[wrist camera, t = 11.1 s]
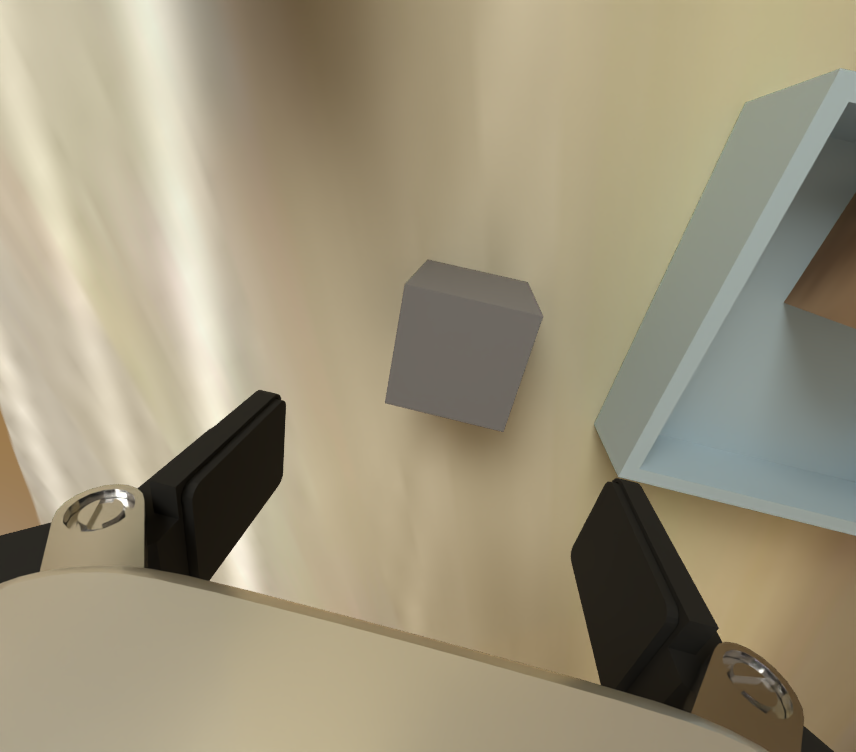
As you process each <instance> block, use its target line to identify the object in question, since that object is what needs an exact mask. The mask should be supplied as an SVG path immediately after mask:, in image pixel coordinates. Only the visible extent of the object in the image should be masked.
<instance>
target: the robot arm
mask: <svg viewBox="0 0 856 752" xmlns="http://www.w3.org/2000/svg"><path fill="white" fill-rule="evenodd" d="M285 414H286V403H285V401H282V400H281V397H280V395H279V394H275V393H271V392H267V391H263V390H258V391H256V392H255V393H254V394H253V395H252V396H250V397H249V398H248V399H247V400H246V401H244V402H243V403H242V404H241V405H239V406H238V407H237V408H236V409H235V410H233V411H232V412H231V413H230V414H229V415H227V416H226V417H225V418H224V419H223V420H221V421H220V422H219V423H218V424H217V425H215V426H214V427H213V428H211V429H209V430H208V431H207V432H205V433H204V434H203V435H202V436H201V437H199V438H198V439H197V440H196V441H195V442H193V443H192V444H191V445H190V446H188V447H187V448H186V449H185V450H184V451H182V452H181V453H180V454H179V455H178V456H176V457H175V458H174V459H173V460H172V461H170V462H169V463H168V464H167V465H165V466H164V467H163V468H162V469H161V470H159V471H158V472H157V473H156V474H155V475H153V476H152V477H151V478H150V479H149V480H147V481H146V482H145V483H144V484H142V485H141V486H140V487H139V488H138V489H137V488H135V487H132V486H129V485H121V484H113V485H104V486H100V487H96V488H92V489H89V490H87V491H84V492H82V493H80V494H77V495H76V496H74V497H73V498H71V499H69V500H68V501H66V502H65V503H64V504H63V505H62V506H61V507H60V508H59V509H58V510H57V511H56V513H55V515H54V517H53V519H52V522H51V523H47V524H44V525H40V526H36V527H32V528H28V529H24V530H20V531H17V532H13V533H9V534H5V535H1V536H0V752H834V751H833V750H831V749H830V748H829V747H828V746H827V745H825V744H824V743H823V742H822V741H821V740H820V739H818V738H817V737H816V736H815V735H814V734H813V733H811V732H810V731H809V730H808V729H807V728H806V727H804V726H803V724H804V716H803V708H802V706H801V704H800V702H799V700H798V697H797V695H796V694H795V692H794V691H793V689H792V688H791V687H790V685H789V684H788V682H787V681H786V680H785V679H784V678H783V677H782V675H781V674H780V673H779V672H778V671H777V670H776V669H775V668H774V667H773V666H772V665H770V664H769V663H768V662H767V661H766V660H765V659H763V658H762V657H761V656H759V655H758V654H756V653H755V652H753V651H751V650H750V649H748V648H746V647H743V646H741V645H739V644H736V643H731V642H724V643H722V641H721V639H720V637H719V635H718V633H717V630H718V629H719V628H718V626H717V624H716V622H715V620H714V619H713V617H712V615H711V613H710V611H709V609H708V608H707V606H706V604H705V602H704V600H703V598H702V597H701V595H700V593H699V591H698V589H697V587H696V586H695V584H694V582H693V580H692V578H691V577H690V575H689V573H688V571H687V569H686V567H685V566H684V564H683V562H682V560H681V558H680V556H679V555H678V553H677V551H676V549H675V547H674V546H673V544H672V542H671V540H670V538H669V536H668V535H667V533H666V531H665V529H664V527H663V525H662V524H661V522H660V520H659V518H658V516H657V514H656V513H655V511H654V509H653V507H652V505H651V504H650V502H649V500H648V498H647V496H646V494H645V493H644V491H643V489H642V487H641V486H640V484H638V483H635V482H631V481H627V480H623V479H619V478H616V479H614V480H613V481H612V482H607V483H606V484H605V486H604V487H603V489H602V491H601V493H600V495H599V497H598V499H597V501H596V503H595V505H594V507H593V509H592V511H591V513H590V514H589V516H588V518H587V520H586V522H585V524H584V526H583V528H582V530H581V532H580V534H579V536H578V538H577V540H576V541H575V543H574V545H573V548H572V551H571V562H572V566H573V570H574V574H575V579H576V583H577V587H578V591H579V595H580V599H581V604H582V608H583V612H584V616H585V620H586V624H587V629H588V633H589V637H590V641H591V645H592V649H593V654H594V658H595V662H596V666H597V670H598V674H599V679H600V683H601V685H598V684H595V683H591V682H588V681H584V680H581V679H577V678H573V677H570V676H566V675H563V674H559V673H555V672H552V671H548V670H544V669H541V668H537V667H533V666H530V665H526V664H522V663H519V662H515V661H511V660H508V659H504V658H501V657H497V656H493V655H490V654H486V653H482V652H479V651H475V650H471V649H467V648H464V647H460V646H456V645H453V644H449V643H445V642H441V641H438V640H434V639H430V638H427V637H423V636H419V635H415V634H412V633H408V632H404V631H400V630H397V629H393V628H389V627H385V626H382V625H378V624H374V623H371V622H367V621H363V620H359V619H356V618H352V617H348V616H344V615H340V614H336V613H333V612H329V611H325V610H321V609H317V608H314V607H310V606H306V605H302V604H298V603H294V602H291V601H287V600H283V599H279V598H275V597H272V596H268V595H264V594H260V593H256V592H252V591H248V590H244V589H240V588H236V587H232V586H228V585H224V584H220V583H215V582H211V581H209V580H210V579H211V578H212V576H213V575H214V574H215V572H216V571H217V569H218V568H219V567H220V565H221V564H222V563H223V561H224V560H225V558H226V557H227V556H228V554H229V553H230V552H231V550H232V549H233V547H234V546H235V545H236V543H237V542H238V541H239V539H240V538H241V536H242V535H243V534H244V532H245V531H246V530H247V528H248V527H249V525H250V524H251V523H252V521H253V520H254V519H255V517H256V516H257V514H258V513H259V512H260V510H261V509H262V508H263V506H264V505H265V503H266V502H267V501H268V499H269V498H270V497H271V495H272V494H273V492H274V491H275V490H276V488H277V487H278V485H279V484H280V482H281V479H282V476H283V461H284V437H285Z"/></svg>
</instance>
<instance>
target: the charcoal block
mask: <svg viewBox="0 0 856 752" xmlns="http://www.w3.org/2000/svg"><path fill="white" fill-rule="evenodd" d="M542 318H543V315H542V312H541V310H540V308H539V306H538V304H537V301H536V299H535V297H534V295H533V293H532V290H531V288H530V286H529V284H528V282H524V281H520V280H515V279H511V278H507V277H502V276H498V275H493V274H489V273H485V272H480V271H476V270H471V269H467V268H463V267H458V266H454V265H449V264H445V263H441V262H436V261H432V260H427V261H426V262H425V263H424V264H423V265H422V266H421V267H420V268H419V269H418V271H417V272H416V273H415V274H414V275H413V276H412V277H411V278H410V279H409V280H408V281H407V282H406V283H405V286H404V292H403V298H402V304H401V310H400V316H399V322H398V328H397V334H396V340H395V346H394V352H393V358H392V364H391V370H390V375H389V381H388V387H387V393H386V399H385V403H387V404H391V405H395V406H399V407H403V408H407V409H411V410H415V411H419V412H424V413H428V414H432V415H436V416H440V417H444V418H448V419H452V420H456V421H460V422H464V423H469V424H473V425H477V426H481V427H485V428H489V429H493V430H497V431H501V432H504V429H505V426H506V423H507V420H508V417H509V414H510V411H511V409H512V406H513V403H514V400H515V397H516V394H517V391H518V388H519V385H520V382H521V379H522V377H523V374H524V371H525V368H526V365H527V362H528V359H529V356H530V353H531V350H532V347H533V345H534V342H535V339H536V336H537V333H538V330H539V327H540V324H541V321H542Z"/></svg>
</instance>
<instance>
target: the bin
mask: <svg viewBox="0 0 856 752" xmlns="http://www.w3.org/2000/svg"><path fill="white" fill-rule="evenodd" d="M855 193H856V71H851V70H846V69H838V70H835V71H832V72H829V73H827V74H824V75H821V76H818V77H815V78H813V79H810V80H807V81H804V82H802V83H799V84H796V85H793V86H790V87H788V88H785V89H782V90H779V91H776V92H774V93H771V94H768V95H765V96H762V97H760V98H757V99H754V100H751V101H749V102H746V103H745V105H744V107H743V109H742V111H741V113H740V115H739V117H738V119H737V122H736V124H735V126H734V128H733V130H732V132H731V134H730V136H729V139H728V141H727V143H726V145H725V147H724V149H723V151H722V153H721V156H720V158H719V160H718V162H717V164H716V166H715V168H714V170H713V173H712V175H711V177H710V179H709V181H708V183H707V185H706V187H705V190H704V192H703V194H702V196H701V198H700V200H699V202H698V204H697V207H696V209H695V211H694V213H693V215H692V217H691V219H690V221H689V224H688V226H687V228H686V230H685V232H684V234H683V236H682V238H681V241H680V243H679V245H678V247H677V249H676V251H675V253H674V255H673V258H672V260H671V262H670V264H669V266H668V268H667V270H666V272H665V275H664V277H663V279H662V281H661V283H660V285H659V287H658V289H657V292H656V294H655V296H654V298H653V300H652V302H651V304H650V306H649V309H648V311H647V313H646V315H645V317H644V319H643V321H642V323H641V326H640V328H639V330H638V332H637V334H636V336H635V338H634V340H633V343H632V345H631V347H630V349H629V351H628V353H627V355H626V357H625V359H624V362H623V364H622V366H621V368H620V370H619V372H618V374H617V376H616V379H615V381H614V383H613V385H612V387H611V389H610V391H609V393H608V396H607V398H606V400H605V402H604V404H603V406H602V408H601V410H600V413H599V415H598V417H597V419H596V421H595V423H594V426H595V428H596V430H597V432H598V434H599V436H600V439H601V441H602V443H603V445H604V447H605V449H606V452H607V454H608V456H609V458H610V460H611V462H612V465H613V467H614V469H615V471H616V473H617V475H618V477H621V478H625V479H629V480H633V481H637V482H641V483H645V484H649V485H653V486H657V487H661V488H665V489H669V490H673V491H677V492H681V493H685V494H690V495H694V496H698V497H702V498H706V499H710V500H714V501H718V502H722V503H726V504H730V505H734V506H738V507H742V508H746V509H750V510H754V511H758V512H762V513H766V514H770V515H774V516H778V517H782V518H786V519H790V520H794V521H798V522H802V523H806V524H810V525H814V526H818V527H822V528H826V529H830V530H834V531H838V532H842V533H847V534H851V535H855V536H856V329H854V328H852V327H849V326H846V325H843V324H841V323H838V322H835V321H832V320H830V319H827V318H824V317H821V316H819V315H816V314H813V313H810V312H808V311H805V310H802V309H799V308H797V307H794V306H791V305H788V304H786V303H784V301H785V300H786V298H787V297H788V295H789V294H790V292H791V291H792V289H793V287H794V286H795V284H796V283H797V281H798V280H799V278H800V277H801V275H802V274H803V272H804V271H805V269H806V268H807V266H808V265H809V263H810V261H811V260H812V258H813V257H814V255H815V254H816V252H817V251H818V249H819V248H820V246H821V245H822V243H823V242H824V240H825V238H826V237H827V235H828V234H829V232H830V231H831V229H832V228H833V226H834V225H835V223H836V222H837V220H838V219H839V217H840V215H841V214H842V212H843V211H844V209H845V208H846V206H847V205H848V203H849V202H850V200H851V199H852V197H853V196H854V194H855Z"/></svg>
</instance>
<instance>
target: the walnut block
mask: <svg viewBox="0 0 856 752" xmlns="http://www.w3.org/2000/svg"><path fill="white" fill-rule="evenodd" d="M784 303H786V304H788V305H791V306H794V307H797V308H799V309H802V310H805V311H808V312H810V313H813V314H816V315H819V316H821V317H824V318H827V319H830V320H832V321H835V322H838V323H841V324H843V325H846V326H849V327H852V328H854V329H856V193H855V194H854V196H853V197H852V199H851V200H850V202H849V203H848V205H847V206H846V208H845V209H844V211H843V212H842V214H841V215H840V217H839V219H838V220H837V222H836V223H835V225H834V226H833V228H832V229H831V231H830V232H829V234H828V235H827V237H826V238H825V240H824V242H823V243H822V245H821V246H820V248H819V249H818V251H817V252H816V254H815V255H814V257H813V258H812V260H811V261H810V263H809V265H808V266H807V268H806V269H805V271H804V272H803V274H802V275H801V277H800V278H799V280H798V281H797V283H796V284H795V286H794V287H793V289H792V291H791V292H790V294H789V295H788V297H787V298H786V300H785V301H784Z"/></svg>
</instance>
